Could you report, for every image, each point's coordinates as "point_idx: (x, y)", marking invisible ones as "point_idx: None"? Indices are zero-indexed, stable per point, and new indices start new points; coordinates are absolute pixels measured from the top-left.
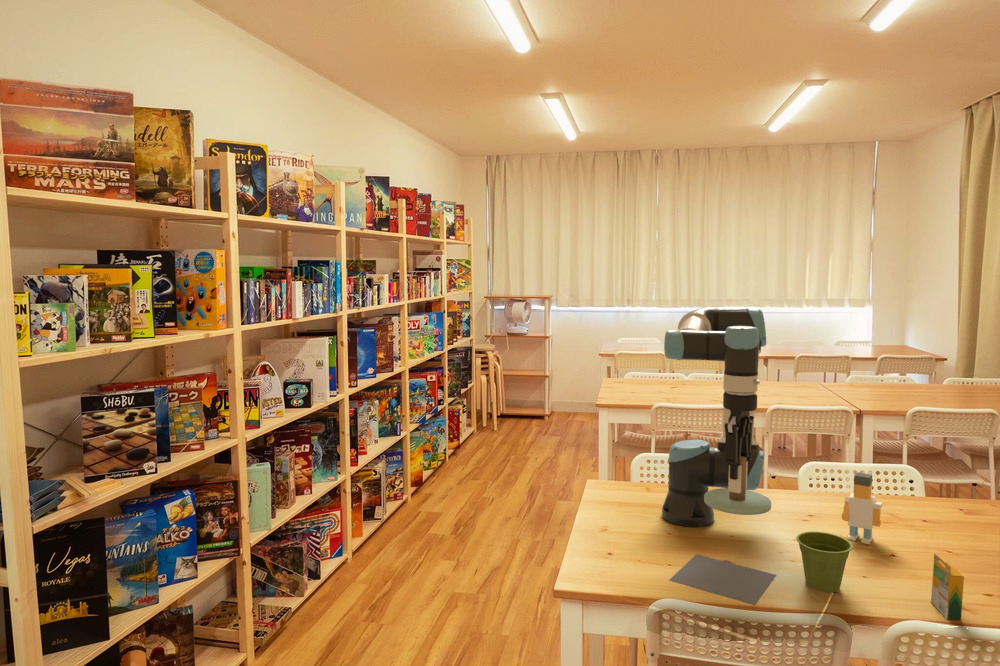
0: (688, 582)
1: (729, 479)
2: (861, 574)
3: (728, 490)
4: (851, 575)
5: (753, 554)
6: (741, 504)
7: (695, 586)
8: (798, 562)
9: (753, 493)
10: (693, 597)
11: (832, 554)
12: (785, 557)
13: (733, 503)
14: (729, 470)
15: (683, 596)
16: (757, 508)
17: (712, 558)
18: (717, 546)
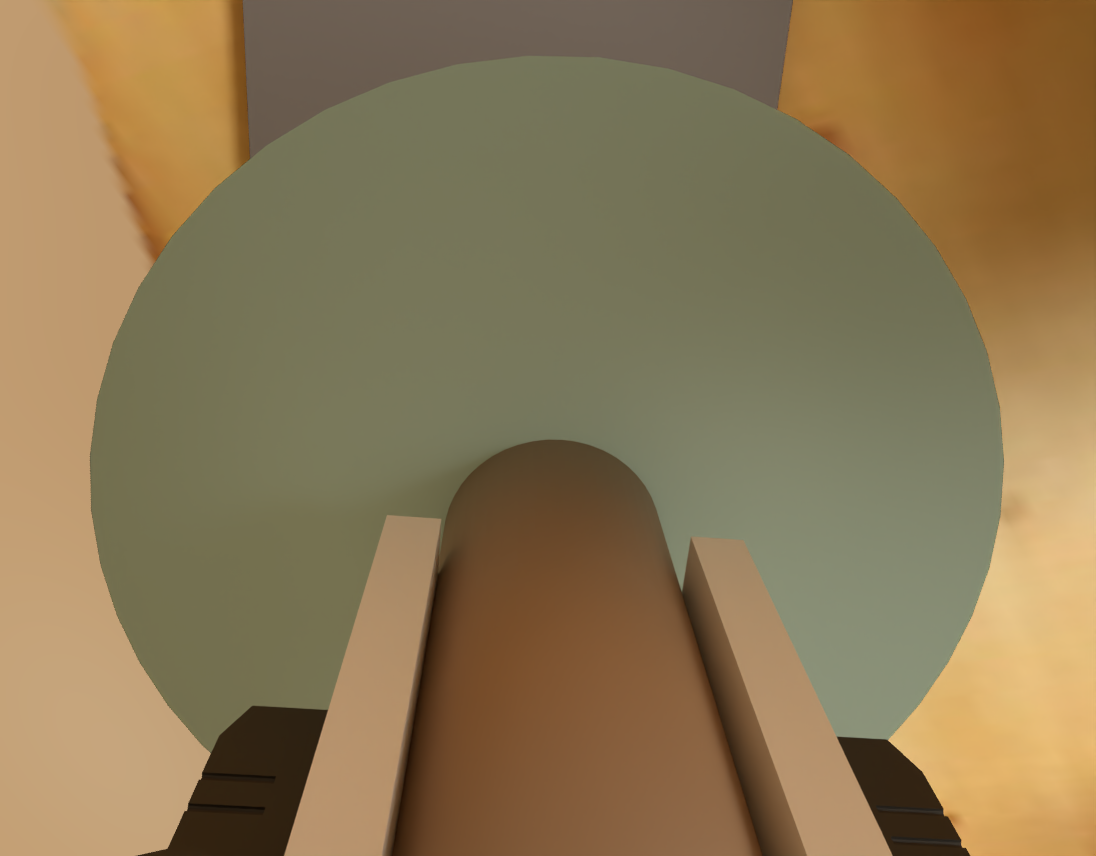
0: (290, 23)
1: (355, 647)
2: (968, 808)
3: (384, 525)
4: (934, 775)
5: (1015, 288)
6: (339, 637)
7: (263, 87)
8: (997, 542)
9: (881, 657)
10: (148, 112)
11: None
12: (1045, 468)
13: (312, 548)
14: (311, 783)
15: (116, 48)
16: None
17: (782, 59)
18: (1065, 17)
